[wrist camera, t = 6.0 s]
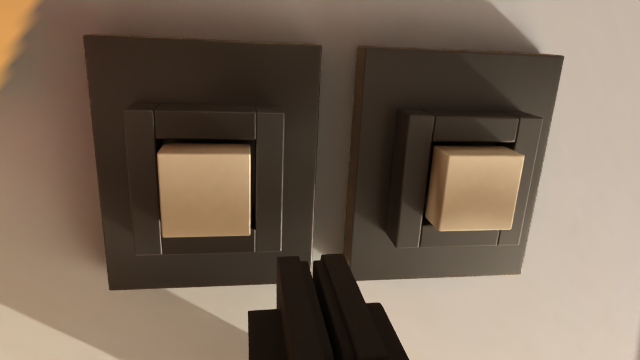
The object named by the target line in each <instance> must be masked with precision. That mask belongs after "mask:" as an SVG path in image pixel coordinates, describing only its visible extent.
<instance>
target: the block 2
mask: <svg viewBox="0 0 640 360" xmlns="http://www.w3.org/2000/svg"><path fill="white" fill-rule="evenodd" d="M563 60H564V56H562V55H551V54H537V53H514V52H491V51H469V50H446V49H423V48H401V47H378V46H358V47H357V62H356V76H355V91H354V106H353V120H352V135H351V149H350V164H349V179H348V193H347V208H346V223H345V237H344V252H343V254H344V256H345V258H346V260H347V262H348V265H349V267H350V269H351V271H352V274H353V276H354V278H355V280H356V281H365V280H390V279H416V278H441V277H467V276H492V275H518V274H521V272H522V267H523V262H524V256H525V251H526V246H527V241H528V236H529V231H530V226H531V221H532V216H533V211H534V206H535V201H536V196H537V191H538V186H539V181H540V176H541V171H542V166H543V161H544V156H545V151H546V146H547V141H548V136H549V131H550V126H551V121H552V116H553V111H554V106H555V100H556V95H557V90H558V85H559V80H560V75H561V70H562V65H563ZM434 146H505V147H507V148H509V149H511V150H514V151H516V152H518V153H520V154H522V155H524V162H523V168H522V173H521V179H520V184H519V189H518V195H517V200H516V206H515V211H514V216H513V222H512V227H511V229H510V230H470V231H438V230H437V229H436V228H435V227H434V226H433V225H432V224H431V223H430V222H429V221H428V219H427V218H426V217H425V213H426V205H427V197H428V189H429V180H430V172H431V164H432V156H433V148H434Z"/></svg>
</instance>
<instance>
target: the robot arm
mask: <svg viewBox="0 0 640 360" xmlns="http://www.w3.org/2000/svg"><path fill="white" fill-rule="evenodd" d="M248 334H249V360H409V358H408V356H407V354H406V352H405V350H404V348H403V346H402V344H401V342H400V340H399V338H398V336H397V334H396V332H395V330H394V328H393V326H392V324H391V322H390V320H389V318H388V316H387V314H386V312H385V310H384V308H383V306H382V305H381V304H380V303H365V301H364V298H363V296H362V294H361V292H360V289H359V287H358V285H357V283H356V280H355V278H354V276H353V274H352V271H351V269H350V267H349V265H348V262H347V260H346V258H345V256H344V254H326V255H321V260H319V261H314V262H313V279H312V275H311V272H310V268H309V264H308V261H300V258H299V256H284V257H277V309H271V310H256V311H248Z"/></svg>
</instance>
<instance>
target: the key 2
mask: <svg viewBox="0 0 640 360" xmlns="http://www.w3.org/2000/svg"><path fill="white" fill-rule="evenodd" d="M523 162H524V155H522V154H520V153H518V152H516V151H514V150H511V149H509V148H507V147H505V146H434V148H433V156H432V164H431V172H430V180H429V189H428V197H427V205H426V213H425V217H426V218H427V219H428V221H429V222H430V223H431V224H432V225H433V226H434V227H435V228H436V229H437V230H438V231H470V230H510V229H511V227H512V222H513V216H514V211H515V206H516V200H517V195H518V189H519V184H520V179H521V173H522V168H523Z"/></svg>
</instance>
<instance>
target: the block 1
mask: <svg viewBox="0 0 640 360" xmlns="http://www.w3.org/2000/svg"><path fill="white" fill-rule="evenodd" d="M83 39H84V49H85V58H86V68H87V78H88V88H89V97H90V107H91V117H92V127H93V136H94V146H95V156H96V166H97V175H98V185H99V195H100V205H101V215H102V224H103V234H104V244H105V254H106V263H107V273H108V283H109V290H134V289H159V288H185V287H210V286H236V285H261V284H277V257H284V256H299V258H300V261H308V264H309V268H310V272H311V271H312V249H313V227H314V206H315V184H316V162H317V140H318V119H319V97H320V75H321V53H322V46H321V45H318V44H310V43H287V42H265V41H242V40H220V39H197V38H174V37H152V36H129V35H106V34H88V35H84V36H83ZM164 143H213V144H250V154H251V193H250V235H249V236H208V237H162V228H161V212H160V196H159V179H158V163H157V153H158V152H159V150H160V149H161V147H162V146H163V144H164Z"/></svg>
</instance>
